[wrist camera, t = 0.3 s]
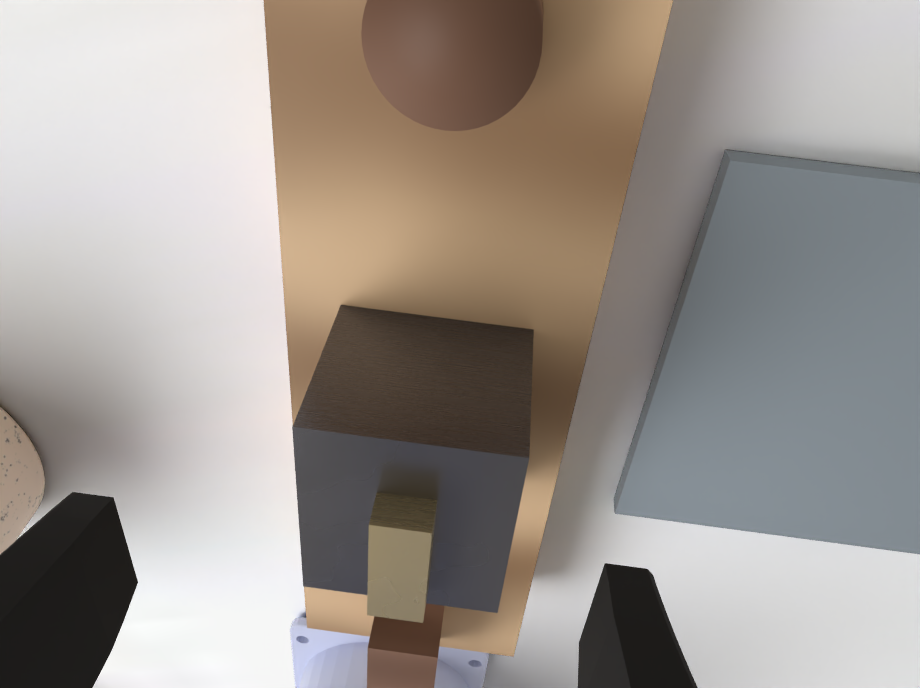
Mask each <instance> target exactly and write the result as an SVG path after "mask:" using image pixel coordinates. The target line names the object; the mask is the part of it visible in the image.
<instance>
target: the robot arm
mask: <svg viewBox="0 0 920 688" xmlns="http://www.w3.org/2000/svg"><path fill="white" fill-rule="evenodd" d="M137 583H138V581H137V578H136V574H135V571H134V567H133V564H132V560H131V557H130V553H129V550H128V546H127V543H126V539H125V536H124V532H123V529H122V525H121V522H120V519H119V515H118V512H117V508H116V505H115V501H114V498H113V497H105V496H98V495H91V494H83V493H76V492H72V493H71V494H70V495H68V496H67V497H66V498H65V499H63V500H62V501H61V502H60V503H59V504H58V505H56V506H55V507H54V508H53V509H52V510H51V511H49V512H48V513H47V514H46V515H45V516H44V517H43V518H41V519H40V520H39V521H38V522H37V523H36V524H34V525H33V526H32V527H31V528H30V529H29V530H28V531H26V532H25V533H24V534H23V535H22V536H21V537H20V538H18V539H17V540H16V541H15V542H14V543H13V544H11V545H10V546H9V547H8V548H7V549H6V550H5V551H3V552H2V553H1V554H0V688H92V687H93V685H94V684H95V682H96V680H97V678H98V676H99V674H100V672H101V670H102V668H103V666H104V664H105V662H106V660H107V658H108V656H109V655H110V653H111V651H112V648H113V646H114V643H115V641H116V638H117V636H118V633H119V631H120V628H121V626H122V623H123V621H124V618H125V616H126V613H127V610H128V608H129V605H130V602H131V600H132V597H133V594H134V591H135V589H136V586H137ZM290 634H291V645H292V656H293V666H294V677H295V688H367V654H368V644H369V639H370V637H369V636H361V635H354V634H347V633H340V632H333V631H325V630H318V629H311V628H307V621H306V618H302V617H300V618H296V619H294V620H293V622H292V625H291V629H290ZM488 659H489V653H484V652H477V651H469V650H462V649H455V648H448V647H441V646H439V653H438V661H437V669H436V676H435V684H434V688H483V683H484V679H485V674H486V669H487V664H488ZM578 688H697V686H696V683H695V681H694V679H693V677H692V674H691V672H690V670H689V667H688V665H687V663H686V660H685V658H684V656H683V653H682V651H681V648H680V646H679V644H678V641H677V639H676V636H675V634H674V631H673V629H672V626H671V624H670V621H669V618H668V616H667V613H666V611H665V608H664V605H663V602H662V600H661V597H660V594H659V591H658V589H657V586H656V583H655V580H654V577H653V575H652V574H651V572H650V571H649V570H648V569H644V568H636V567H629V566H621V565H614V564H606V563H605V565H604V568H603V571H602V574H601V577H600V580H599V583H598V586H597V589H596V592H595V595H594V598H593V601H592V605H591V608H590V611H589V614H588V617H587V620H586V623H585V626H584V629H583V632H582V635H581V638H580V641H579V668H578Z"/></svg>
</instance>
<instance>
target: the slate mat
mask: <svg viewBox="0 0 920 688" xmlns="http://www.w3.org/2000/svg"><path fill="white" fill-rule="evenodd" d="M614 508H615V514H623V515H630V516H638V517H645V518H653V519H660V520H668V521H675V522H683V523H690V524H698V525H705V526H713V527H720V528H727V529H735V530H742V531H750V532H757V533H765V534H772V535H780V536H787V537H795V538H802V539H810V540H817V541H825V542H832V543H840V544H847V545H855V546H862V547H870V548H877V549H884V550H892V551H899V552H907V553H914V554H920V173H913V172H905V171H896V170H888V169H880V168H872V167H863V166H855V165H847V164H839V163H830V162H822V161H814V160H806V159H797V158H789V157H781V156H773V155H764V154H756V153H748V152H740V151H732V150H725V152H724V156H723V159H722V162H721V165H720V168H719V171H718V174H717V177H716V181H715V184H714V187H713V190H712V193H711V196H710V199H709V203H708V206H707V209H706V212H705V215H704V218H703V221H702V224H701V228H700V231H699V234H698V237H697V240H696V243H695V246H694V249H693V253H692V256H691V259H690V262H689V265H688V268H687V271H686V274H685V278H684V281H683V284H682V287H681V290H680V293H679V296H678V300H677V303H676V306H675V309H674V312H673V315H672V318H671V321H670V325H669V328H668V331H667V334H666V337H665V340H664V343H663V346H662V350H661V353H660V356H659V359H658V362H657V365H656V368H655V371H654V375H653V378H652V381H651V384H650V387H649V390H648V393H647V397H646V400H645V403H644V406H643V409H642V412H641V415H640V418H639V422H638V425H637V428H636V431H635V434H634V437H633V440H632V443H631V447H630V450H629V453H628V456H627V459H626V462H625V465H624V468H623V472H622V475H621V478H620V481H619V484H618V487H617V490H616V494H615V497H614Z"/></svg>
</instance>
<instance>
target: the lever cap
mask: <svg viewBox="0 0 920 688" xmlns="http://www.w3.org/2000/svg"><path fill="white" fill-rule="evenodd" d="M533 337H534V329H526V328H519V327H511V326H503V325H495V324H487V323H480V322H472V321H464V320H456V319H448V318H441V317H433V316H425V315H417V314H409V313H402V312H394V311H386V310H378V309H370V308H362V307H355V306H347V305H340V308H339V310H338V313H337V315H336V318H335V320H334V323H333V326H332V328H331V331H330V333H329V336H328V338H327V341H326V343H325V346H324V348H323V351H322V353H321V356H320V358H319V361H318V363H317V366H316V368H315V371H314V374H313V376H312V379H311V381H310V384H309V386H308V389H307V391H306V394H305V396H304V399H303V401H302V404H301V406H300V409H299V411H298V414H297V416H296V419H295V422H294V424H293V427H292V428H293V442H294V457H295V471H296V485H297V500H298V514H299V528H300V543H301V557H302V571H303V586H304V587H311V588H318V589H326V590H333V591H340V592H347V593H355V594H362V595H367V615H369V616H376V617H384V618H391V619H398V620H405V621H413V622H420V623H423V620H424V614H425V607H426V603H427V604H435V605H442V606H449V607H456V608H464V609H471V610H478V611H486V612H493V613H498V609H499V604H500V599H501V594H502V589H503V584H504V579H505V574H506V570H507V565H508V560H509V555H510V550H511V545H512V540H513V535H514V531H515V526H516V521H517V516H518V511H519V506H520V501H521V497H522V492H523V487H524V482H525V477H526V472H527V467H528V462H529V455H530V426H531V396H532V367H533Z"/></svg>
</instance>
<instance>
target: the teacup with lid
mask: <svg viewBox="0 0 920 688" xmlns="http://www.w3.org/2000/svg"><path fill="white" fill-rule="evenodd" d="M44 489H45V477H44V470H43V467H42V463H41V460H40V458H39V455H38V453H37V451H36V449H35V447H34V446H33V444H32V442H31V441H30V439H29V438H28V436H27V435H26V434H25V432H24V431H23V430H22V429H21V427H20V426H19V425H18V424H17V423H16V422H15V421H14V420H13V419H12V417H11V416H10V415H8V414H7V413H6V412H5V411H4V410H3V409H2V408H1V407H0V554H1V553H2V552H3V551H5V550H6V549H7V548H8V547H9V546H10V545H11V544H13V543H14V542H15V541H16V539H17V538H18V536H19V535H20V534H21V532H22V531H23V529H24V528H25V526H26V525H27V524H28V522H29V521H30V519H31V518H32V516H33V515H34V513H35V512H36V510H37V509H38V507H39V505H40V503H41V501H42V498H43V495H44Z"/></svg>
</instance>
